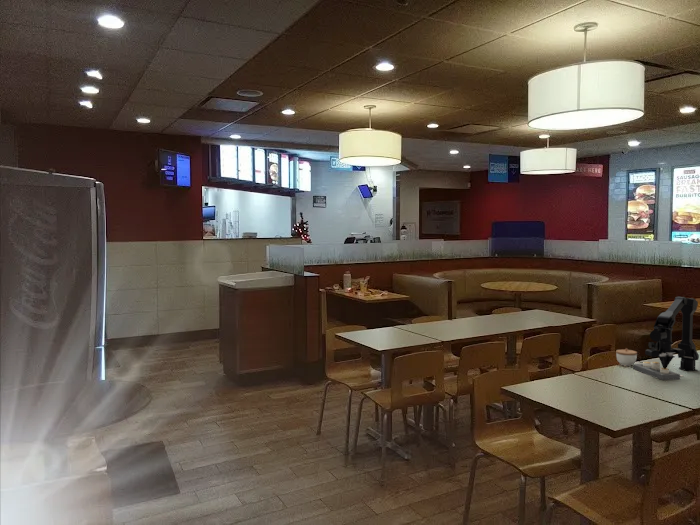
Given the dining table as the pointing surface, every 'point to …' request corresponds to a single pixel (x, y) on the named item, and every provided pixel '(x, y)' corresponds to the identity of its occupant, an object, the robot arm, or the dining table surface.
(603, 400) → the dining table surface
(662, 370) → the button
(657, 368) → the button
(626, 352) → the lidded jar
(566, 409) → the dining table surface
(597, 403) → the dining table surface
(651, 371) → the board
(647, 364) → the button
